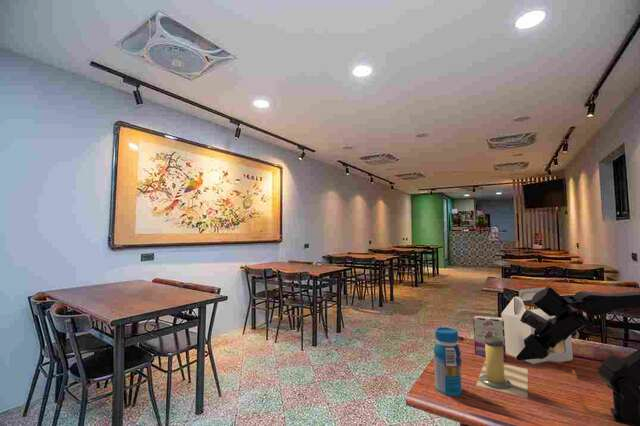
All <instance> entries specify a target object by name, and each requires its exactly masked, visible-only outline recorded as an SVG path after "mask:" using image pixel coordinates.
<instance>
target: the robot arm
mask: <svg viewBox="0 0 640 426" xmlns="http://www.w3.org/2000/svg"><path fill="white" fill-rule="evenodd" d="M545 287H546V288H545V289H543V290H541V291H539V292H537V293H536V294H535V295H534V296H533V298H532V300H530V302H531V303H532V304H533V305H535V307H537V308H539V309H541V310H542V311H543V312H545V313H546V314H547V315H548V316H556V317H554V318H552V319H551V318H550V319H549V320H546V319H544V318H542V317H541V316H539V315H537V314H535V313H533V312H531V311H529V309H526V311H525V312H524V314H523V316H522V318H521V320H520V321H521V322H522V323H526V324H527V325H529V326H531V327H533V328H535V330H534V334H530V335H529V336H528V337H526V338H525V339H524V344H525V347H524V348H523V350H522V351H521V352H520V353H519V354H518V355H517V357H515V359H517V361H525V360H529V359H544V358H545V357H547V356H548V355H549V354H550V347H552V348H554V347H556V345H557V344H558V343H560V342H561V341H563V340H566V339H567V338H568V337H569V336H570V335H571V336H572V335H573V334H575V333H577V332H578V331H579V330H581V329H582V328H584V327H586V328H587V329H589V330H590V331H592V332H594V331H595V325H594V324H595V321H594V318H593V316H594V317H595V316H596V317H597V316H601V315H602V316H603V315H607V314H611V313H613V312H615V311H618V310H626V309H628V310H629V309H640V291H632V292H631V291H630V292H618V293H617V292H616V293H605V292H604V293H603V292H596V291H584V290H582V291H577V292H575V293H574V295H568V296H561V295H560V294H559V293H558V292H557V291H555V289H554V288H553V287H550V286H545ZM571 308H572V309H571ZM580 311H581V312H583V313H585V314H587V315H589V316H592V317H587V316H585V315H584V314H583V313H581V312H580ZM597 371H598V376H599V378H600V379H601V380H602V382H604V383H605V384H606V386H607V388H608V389H609V390H612V402H613V407H612V408H610V409H609V411H610V413H611V415H612V417H613V419H614V421H616V422H621V423H623V424H628V425H632V426H640V348H638V349H636V350H635V351H634V352H633V353H631V354H629V355H627V356H626V357H622V358H619V357H617V356H616V355H615V354H612V355H610V356H609V357H608V358H607V359H606V360H605V361H601V362H600V366H599V367H598V370H597Z"/></svg>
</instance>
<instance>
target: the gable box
mask: <svg viewBox="0 0 640 426" xmlns="http://www.w3.org/2000/svg"><path fill="white" fill-rule="evenodd" d="M546 287H547V286H543V287H531V288H530V287H529V288H521V289H518V293H517V296H514V297H513V298H512V299H511V300H510V301H509V303H508V304H507V305H506V307H505V308H504V309H503V311H502V312H501V318H503V320H504V333H505V349H506V355H507V354H508V355H511V356H513V357H515V358H516V357H517V355H518V354H519V353H520V352H521V351H522V350H523V348H524V347H525V344H524V339H525V338H526V337H528V336H529V335H530V334H534V330H535V328H533V327H531V326H529V325H527V324H526V323H522V322H521V321H520V320H521V318H522V316H523V314H524V312H525V311H526V310H527V308H526V305H525V303H524V302H525V301H531V300H532V298H533V296H534V295H535V294H536V293H537V292H539V291H541V290H543V289H545V288H546ZM528 310H529V311H531V312H533V313H535V314H537V315H539V316H541V317H542V318H544V319H546V320H549V319H550V318H551V319H552V318H554V317H556V316H548V315H547V314H546V313H545V312H543V311H542V310H541V309H539V308H538V307H537V308H531V309H528ZM572 339H573V338H572V335H570V336H569V337H568V338H567V339H566V340H563V341H561V342H560V343H558V344H557V345H556V347H554V348H552V347H550V354H549V355H548V356H547V357H545V358H544V359H529V360H524V361H525V362H528V363H530V364H533V365H535V364H539V363H545V362H553V363H554V362H555V363H564V362H569V361H573V359H574V356H573V354H574V353H573V340H572Z"/></svg>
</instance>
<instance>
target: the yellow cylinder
mask: <svg viewBox="0 0 640 426" xmlns="http://www.w3.org/2000/svg"><path fill="white" fill-rule="evenodd" d="M485 350H486V356H485V361H486V372H487V380H488V381H489V382H491V383H494V384H504V383H505V378H504V363H505V362H504V360H505V359H504V358H503V341H502V340H499V339H495V338H486V339H485Z"/></svg>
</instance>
